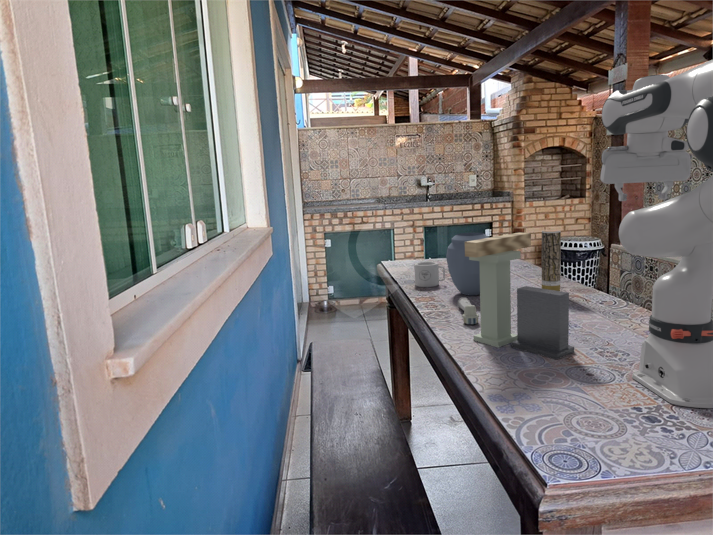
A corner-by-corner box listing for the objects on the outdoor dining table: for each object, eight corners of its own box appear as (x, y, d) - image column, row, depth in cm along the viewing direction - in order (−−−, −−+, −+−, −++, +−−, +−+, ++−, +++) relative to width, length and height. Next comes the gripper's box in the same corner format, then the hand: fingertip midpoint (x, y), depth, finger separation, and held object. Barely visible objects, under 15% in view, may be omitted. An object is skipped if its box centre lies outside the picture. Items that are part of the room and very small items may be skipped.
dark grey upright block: (529, 340, 148) (528, 284, 145) (574, 352, 136) (575, 291, 133) (511, 347, 143) (510, 289, 140) (556, 359, 132) (557, 297, 129)
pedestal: (493, 333, 157) (492, 248, 152) (521, 340, 149) (520, 251, 144) (471, 340, 151) (469, 253, 146) (498, 348, 143) (497, 255, 138)
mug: (413, 287, 228) (412, 265, 226) (417, 282, 238) (416, 261, 236) (443, 287, 224) (442, 265, 222) (446, 282, 234) (446, 261, 232)
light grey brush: (469, 296, 190) (479, 303, 165) (470, 314, 190) (480, 324, 165) (455, 296, 190) (462, 304, 165) (456, 314, 190) (463, 324, 165)
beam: (519, 245, 155) (519, 232, 154) (530, 246, 152) (530, 233, 151) (465, 256, 141) (464, 241, 141) (476, 257, 138) (475, 242, 137)
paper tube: (561, 296, 196) (562, 231, 192) (543, 296, 197) (543, 232, 193) (558, 292, 203) (558, 229, 198) (540, 292, 204) (540, 230, 200)
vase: (437, 294, 211) (435, 235, 207) (467, 286, 223) (465, 230, 219) (476, 301, 196) (474, 238, 192) (505, 292, 208) (505, 232, 204)
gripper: (605, 147, 127) (602, 203, 131) (696, 142, 124) (690, 200, 127) (598, 146, 133) (595, 200, 137) (685, 142, 130) (679, 196, 133)
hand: (642, 200), depth 132 cm, fingers open, 8 cm apart
